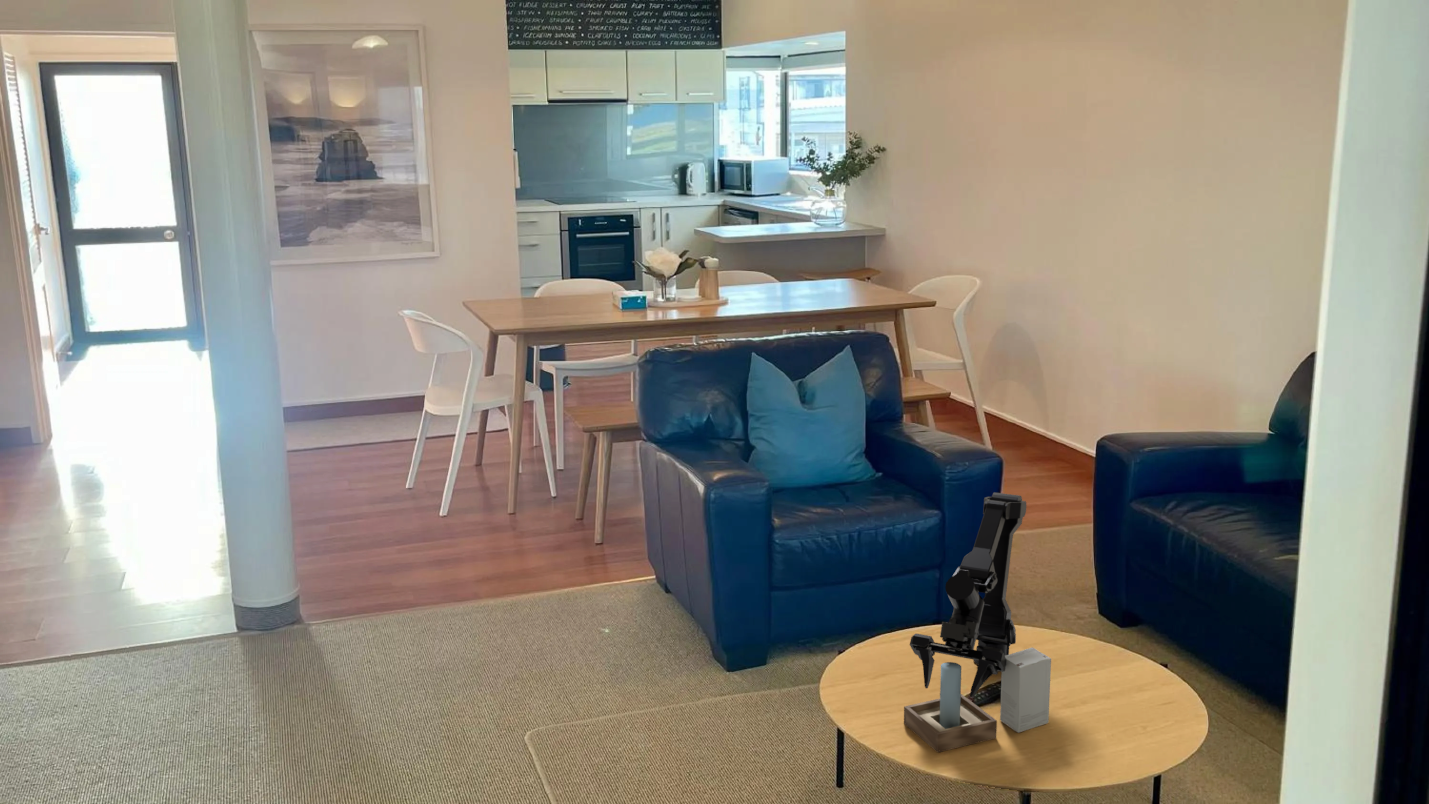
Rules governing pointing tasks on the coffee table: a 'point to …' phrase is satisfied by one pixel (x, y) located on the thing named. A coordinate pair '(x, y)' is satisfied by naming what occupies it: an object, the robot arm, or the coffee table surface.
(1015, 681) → the skincare box
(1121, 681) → the coffee table surface
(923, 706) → the bore box
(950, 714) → the peg
